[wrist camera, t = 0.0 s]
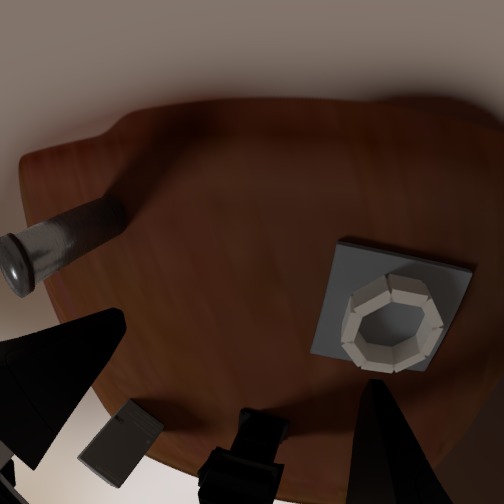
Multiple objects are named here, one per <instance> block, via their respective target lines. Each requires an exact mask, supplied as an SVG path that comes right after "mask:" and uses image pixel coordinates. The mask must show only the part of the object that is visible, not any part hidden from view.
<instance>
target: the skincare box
mask: <svg viewBox="0 0 504 504" xmlns="http://www.w3.org/2000/svg"><path fill="white" fill-rule="evenodd" d="M163 429H164V425H163V424H162V423H160V422H159V421H157V420H156V419H155V418H153V417H152V416H151V415H149V414H148V413H147V412H146V411H144V410H143V409H142V408H140V407H139V406H138V405H136V404H135V403H134V402H133V401H132V400H131V399H129V400H127V401H126V402H125V403H124V404H123V405H122V406H121V407H120V408H119V409H118V411H117V412H116V413H115V414H114V415H113V416H112V417H111V419H110V420H109V421H108V422H107V423H106V425H105V426H104V427H103V428H102V429H101V430H100V432H99V433H98V434H97V435H96V436H95V437H94V438H93V440H92V441H91V442H90V443H89V444H88V446H87V447H86V448H85V449H84V450H83V451H82V452H81V454H80V455H79V456H78V457H77V459H78V460H80V461H81V462H82V463H83V464H84V465H85V466H87V467H88V468H89V469H90V470H91V471H92V472H94V473H95V474H96V475H98V476H99V477H100V478H102V479H103V480H104V481H106V482H107V483H108V484H110V485H111V486H113V487H116V488H120V487H121V485H122V484H123V483H124V482H125V480H126V479H127V478H128V476H129V475H130V474H131V472H132V471H133V470H134V468H135V467H136V466H137V464H138V463H139V461H140V460H141V459H142V457H143V456H144V455H145V454H146V452H147V451H148V449H149V448H150V447H151V445H152V444H153V443H154V441H155V440H156V439H157V437H158V436H159V434H160V433H161V432H162V430H163Z"/></svg>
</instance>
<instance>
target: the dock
mask: <svg viewBox="0 0 504 504" xmlns="http://www.w3.org/2000/svg"><path fill="white" fill-rule="evenodd" d="M471 276H472V272H471V271H470V270H469V269H466V268H462V267H458V266H453V265H449V264H445V263H440V262H436V261H432V260H427V259H423V258H418V257H414V256H409V255H405V254H400V253H395V252H391V251H386V250H381V249H376V248H372V247H367V246H362V245H357V244H352V243H347V242H342V241H337V244H336V249H335V254H334V259H333V263H332V268H331V272H330V277H329V281H328V285H327V290H326V294H325V298H324V302H323V306H322V310H321V314H320V318H319V321H318V325H317V329H316V333H315V336H314V340H313V343H312V347H311V352H310V353H313V354H318V355H323V356H328V357H333V358H338V359H344V360H349V361H354V363H355V364H356V365H357V367H359V366H361V369H366V370H372V371H379V372H385V373H392V372H393V370H395V372H399V371H401V370H403V369H408V370H417V371H425V370H426V368H427V366H428V365H429V363H430V361H431V359H432V358H433V356H434V354H435V352H436V351H437V349H438V347H439V345H440V343H441V342H442V340H443V338H444V336H445V334H446V332H447V330H448V328H449V326H450V324H451V322H452V320H453V318H454V316H455V314H456V311H457V309H458V307H459V305H460V303H461V300H462V298H463V296H464V293H465V291H466V289H467V286H468V284H469V281H470V279H471Z"/></svg>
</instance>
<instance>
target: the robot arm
mask: <svg viewBox="0 0 504 504" xmlns="http://www.w3.org/2000/svg"><path fill="white" fill-rule="evenodd" d="M125 332H126V322H125V318H124V313H123V311H121V310H119V309H117V308H110V309H107V310H104V311H100V312H97V313H94V314H91V315H88V316H85V317H82V318H79V319H76V320H72V321H69V322H66V323H63V324H60V325H57V326H54V327H51V328H47V329H44V330H41V331H38V332H36V333H32V334H29V335H25V336H22V337H19V338H14V339H10V340H5V341H1V342H0V504H29V503H28V502H27V501H26V500H25V499H24V498H23V497H22V496H21V495H20V494H19V493H18V492H17V491H16V490H15V489H14V487H15V485H16V482H15V471H14V462H13V460H12V459H11V458H12V456H13V455H14V454H15V455H16V456H17V457H18V458H19V459H20V460H22V461H23V462H24V463H25V464H26V465H27V466H29V467H30V468H31V469H32V470H35V469H36V467H37V466H38V464H39V463H40V461H41V459H42V458H43V456H44V455H45V453H46V452H47V450H48V449H49V447H50V446H51V444H52V442H53V441H54V439H55V438H56V435H58V433H59V432H60V430H61V428H62V427H63V425H64V424H65V422H66V421H67V419H68V418H69V417H70V415H71V414H72V412H73V411H74V409H75V408H76V406H77V405H78V403H79V402H80V401H81V399H82V398H83V396H84V395H85V394H86V392H87V391H88V389H89V388H90V386H91V385H92V384H93V382H94V381H95V379H96V378H97V377H98V375H99V374H100V373H101V371H102V370H103V368H104V367H105V366H106V364H107V363H108V361H109V360H110V358H111V356H112V355H113V353H114V351H115V349H116V348H117V346H118V344H119V343H120V341H121V339H122V338H123V336H124V334H125ZM288 426H289V421H287V420H284V419H279V418H275V417H271V416H267V415H263V414H259V413H256V412H252V411H248V410H245V409H241V411H240V414H239V425H238V433H237V435H236V437H235V439H234V442H233V444H232V446H231V449H230V451H229V450H226V449H223V448H221V447H218V446H217V447H216V449H215V450H212V452H211V454H210V456H209V458H208V460H207V461H206V462H205V463H204V465H203V466H202V467H201V468H200V469H199V470H198V473H197V474H198V476H199V482H198V486H199V487H200V489H199V491H198V498H199V503H200V504H273V502H274V499H275V496H276V494H277V491H278V487H279V484H280V480H281V477H282V473H283V469H284V464H277V463H273V462H274V459H275V456H276V453H277V450H278V447H279V444H282V442H283V439H284V437H285V434H286V432H287V429H288ZM346 504H453V502H452V501H451V499H450V498H449V496H448V495H447V493H446V492H445V490H444V489H443V487H442V485H441V484H440V482H439V480H438V479H437V477H436V475H435V473H434V472H433V470H432V468H431V466H430V464H429V462H428V460H427V459H426V456H425V454H424V453H423V451H422V449H421V447H420V445H419V443H418V441H417V439H416V437H415V436H414V434H413V432H412V430H411V428H410V426H409V425H408V423H407V421H406V419H405V417H404V415H403V414H402V412H401V410H400V408H399V407H398V405H397V403H396V401H395V399H394V398H393V396H392V394H391V392H390V391H389V389H388V387H387V385H386V384H385V382H384V381H383V380H382V379H377V378H371V379H370V380H369V382H368V384H367V385H366V387H365V389H364V391H363V393H362V395H361V399H360V405H359V411H358V416H357V422H356V427H355V432H354V438H353V446H352V457H351V467H350V475H349V483H348V491H347V498H346Z"/></svg>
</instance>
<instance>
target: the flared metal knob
mask: <svg viewBox="0 0 504 504" xmlns="http://www.w3.org/2000/svg"><path fill="white" fill-rule="evenodd" d="M125 227H126V214H125V210H124V208H123V206H122V204H121V203H120V202H119V200H118V199H116V198H115V197H113V196H110V195H107V196H104V197H101V198H98V199H96V200H93V201H90V202H88V203H85V204H83V205H80V206H78V207H75V208H73V209H70V210H68V211H65V212H63V213H61V214H58V215H56V216H54V217H51V218H49V219H47V220H45V221H42V222H40V223H38V224H36V225H33V226H31V227H29V228H27V229H25V230H23V231H21V232H19V233H17V234H15V235H14V234H12V233H8V234H6V235H4V236H2V237H0V268H1V271H2V273H3V275H4V277H5V279H6V281H7V283H8V285H9V286H10V288H11V289H12V290H13V292H14V293H15V294H16V295H18V296H19V297H21V298H23V297H25V296H27V295H28V294H29V293H31V292H33V291H34V289H35V285H36V284H37V283H39V282H41V281H42V280H44V279H46V278H47V277H49V276H50V275H52V274H54V273H55V272H57V271H58V270H60V269H62V268H63V267H65V266H66V265H68V264H70V263H71V262H73V261H75V260H76V259H78V258H80V257H81V256H83V255H85V254H87V253H88V252H90V251H92V250H93V249H95V248H97V247H99V246H100V245H102V244H104V243H106V242H108V241H109V240H111V239H113V238H115V237H117V236H118V235H120V234H122V233H123V231H124V229H125Z"/></svg>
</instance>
